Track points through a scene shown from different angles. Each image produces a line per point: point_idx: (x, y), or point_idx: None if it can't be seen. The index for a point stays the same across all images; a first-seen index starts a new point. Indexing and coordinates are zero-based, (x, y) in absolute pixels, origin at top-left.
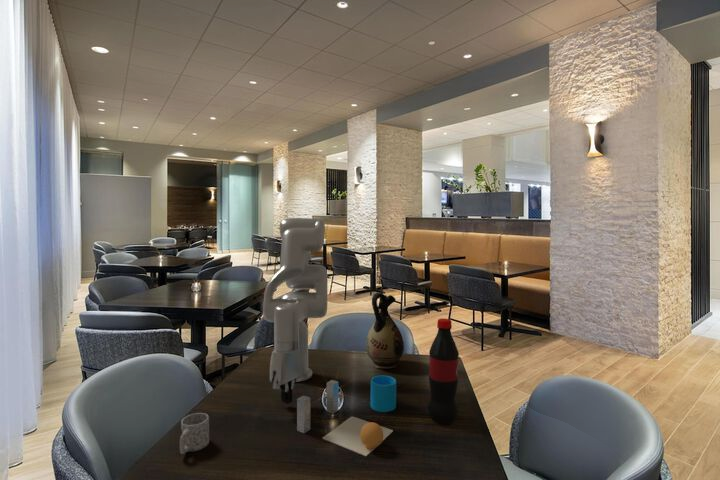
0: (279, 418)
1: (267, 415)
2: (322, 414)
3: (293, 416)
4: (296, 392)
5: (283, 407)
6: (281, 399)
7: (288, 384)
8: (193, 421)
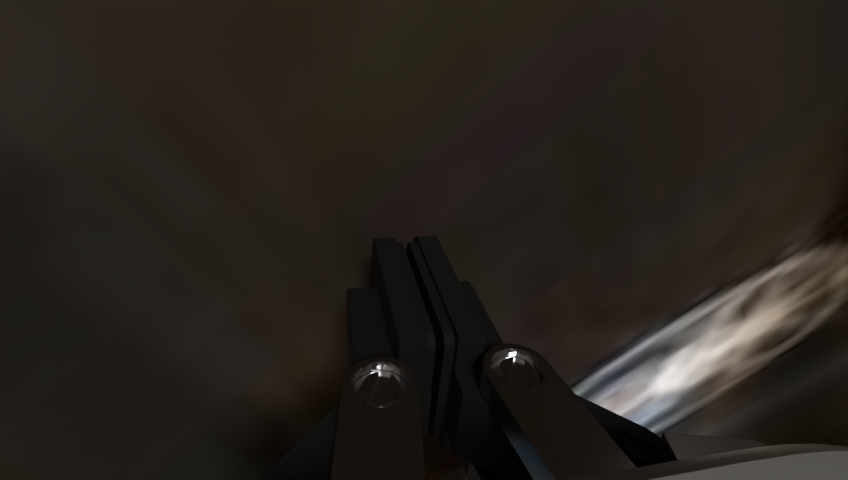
0: (187, 348)
1: (122, 225)
2: (442, 476)
3: (300, 394)
4: (702, 101)
5: (369, 229)
6: (375, 250)
7: (509, 443)
8: None
